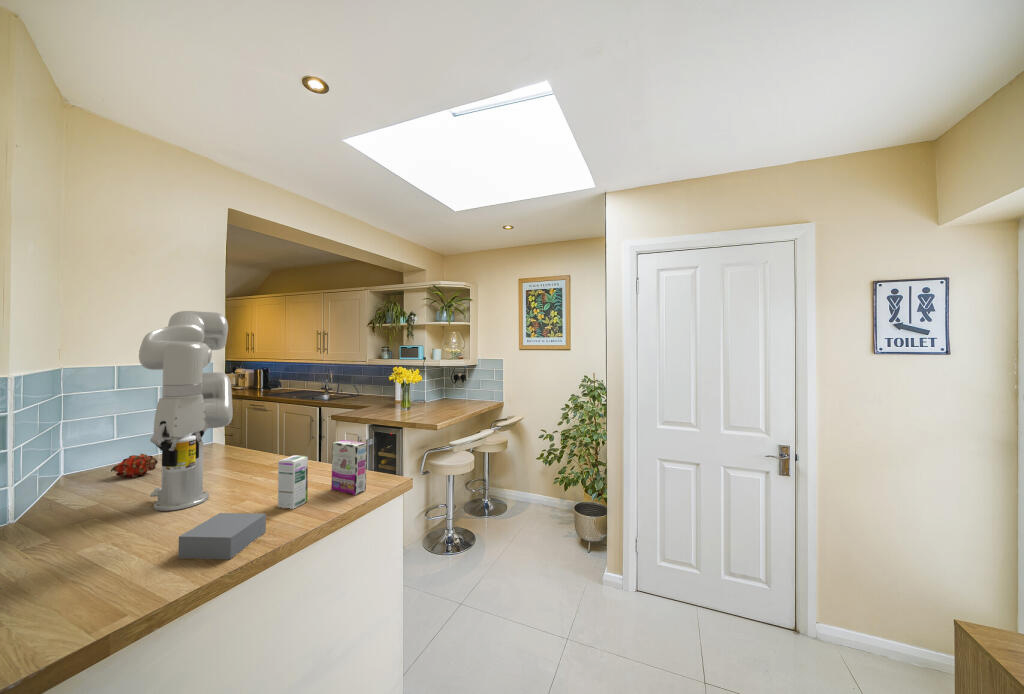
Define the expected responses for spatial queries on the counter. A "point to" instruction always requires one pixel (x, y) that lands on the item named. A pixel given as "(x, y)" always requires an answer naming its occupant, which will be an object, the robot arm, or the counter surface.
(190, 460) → the supplement bottle
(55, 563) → the counter surface
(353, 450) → the candy bar box
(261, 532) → the base block
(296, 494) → the syrup box
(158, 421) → the robot arm
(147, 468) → the dragon fruit
